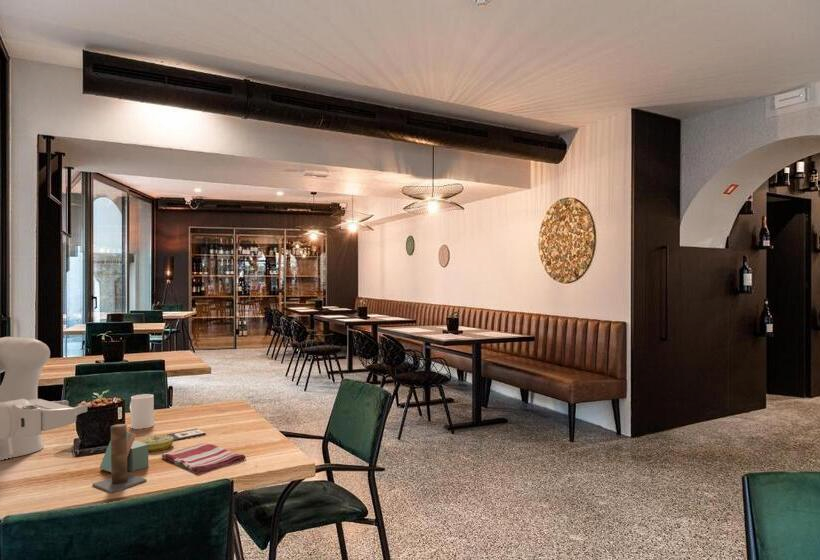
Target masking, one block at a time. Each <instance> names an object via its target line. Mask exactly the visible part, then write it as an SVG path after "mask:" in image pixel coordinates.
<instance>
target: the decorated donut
mask: <svg viewBox="0 0 820 560" xmlns="http://www.w3.org/2000/svg"><path fill="white" fill-rule="evenodd" d="M140 442H142V443H145V444H148V453H153V452H161V451H166V450H167V449H169V448H171V447H172V445H173V443H174V442H175V441H174V440H173V437H171V436H168V435H166V434H155V435H151V436H150V435H149V436H148V437H145V438H143V439H142V440H141V441H140ZM165 449H166V450H165Z"/></svg>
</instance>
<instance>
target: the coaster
mask: <svg viewBox="0 0 820 560" xmlns="http://www.w3.org/2000/svg"><path fill="white" fill-rule="evenodd" d="M146 482H147V478H144V477H141V476H138V475H135V474H132V473H129V472H127V481H126V482H125V483H122V484H112V481H111V477H109V478H107V479H103V480H100V481H97V482H94V483H92V487H94V486H95V487H94V488H97V489H99V488H100V490H102V491H105V492H107V491H108V493H110V494H114V493H117V492H119V491H121V490H126V489H128V488H131V487H133V486H137V485H140V484H143V483H146Z"/></svg>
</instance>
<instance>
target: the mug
mask: <svg viewBox="0 0 820 560" xmlns="http://www.w3.org/2000/svg"><path fill="white" fill-rule="evenodd" d="M154 405H155V401H154V394H151V393H142V394H136V395H132V396H130V402H129V412H130V417H131V418H130V419H131V421H130V422H131V423H130V429H132V428H133V429H132V430H143V428H145V429H148V428H152V427H154V426H155V413H154V412H155V411H154V410H155V406H154Z"/></svg>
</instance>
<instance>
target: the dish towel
mask: <svg viewBox="0 0 820 560" xmlns="http://www.w3.org/2000/svg"><path fill="white" fill-rule="evenodd" d="M161 458H162V459H164V460H165V461H166V462H167V463H170V464H173V465H176V466H178V467H180V468H183V469H186V470H188V471H190V472H192V473H194V474H197V475H199V474H202V473H206V472H210V471H213V470H217V469H220V468H223V467H226V466H229V465H231V464H235V463H239V462H238V461H240V462H242V461H241V460H243V461H244V459H245V460H246V458H247V456H246V455H244V454H241V453H236V452H232V451H231V450H228V449H225V448H222V447H220V446H217V445H215V444H211V443H208V442H207V443H206V442H203V443H200V444H197V445H192V446H190V447H186V448H182V449H179V450H175V451H170V452H164V453H162V454H161ZM225 465H226V466H225ZM222 466H223V467H222ZM219 467H220V468H219ZM216 468H217V469H216Z"/></svg>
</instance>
